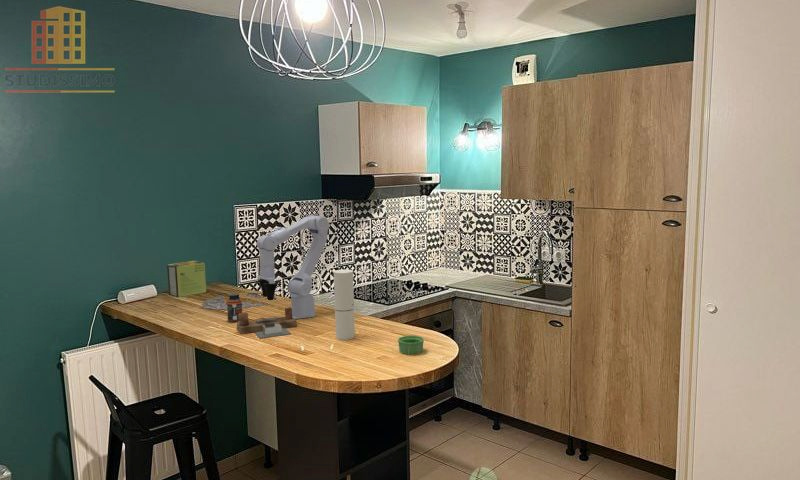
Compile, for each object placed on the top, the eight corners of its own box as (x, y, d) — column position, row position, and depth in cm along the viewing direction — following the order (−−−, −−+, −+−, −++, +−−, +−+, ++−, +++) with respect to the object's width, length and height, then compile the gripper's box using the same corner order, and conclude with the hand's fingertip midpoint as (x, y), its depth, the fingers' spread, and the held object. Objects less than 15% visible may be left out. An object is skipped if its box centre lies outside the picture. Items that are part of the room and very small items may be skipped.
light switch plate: (278, 330, 239) (278, 320, 238) (281, 333, 235) (281, 323, 234) (262, 332, 236) (262, 323, 235) (265, 335, 232) (264, 325, 231)
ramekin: (392, 351, 212) (392, 339, 211) (410, 345, 218) (410, 333, 217) (411, 357, 205) (411, 344, 205) (429, 351, 211) (429, 338, 211)
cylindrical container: (357, 335, 232) (356, 270, 228) (350, 340, 225) (348, 273, 222) (340, 333, 234) (338, 269, 231) (332, 338, 227) (330, 272, 224)
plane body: (291, 322, 252) (290, 305, 251) (296, 326, 245) (296, 309, 244) (237, 329, 243) (236, 312, 242) (241, 334, 236) (240, 316, 235)
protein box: (206, 292, 313) (205, 262, 311) (178, 297, 302) (176, 266, 300) (196, 289, 320) (194, 260, 318) (168, 294, 309) (166, 264, 307)
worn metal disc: (185, 305, 287) (185, 304, 287) (243, 291, 315) (243, 290, 315) (232, 314, 268) (232, 313, 268) (290, 298, 296) (290, 297, 296)
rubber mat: (285, 329, 242) (285, 328, 241) (291, 334, 234) (291, 333, 234) (255, 333, 236) (254, 332, 236) (259, 338, 229) (259, 337, 229)
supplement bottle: (238, 322, 253) (237, 295, 251) (225, 322, 254) (223, 295, 252) (245, 319, 258) (243, 292, 257) (232, 318, 260) (230, 292, 258)
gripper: (253, 263, 253) (254, 295, 255) (261, 268, 240) (262, 302, 242) (270, 262, 256) (271, 294, 258) (279, 267, 243) (280, 300, 245)
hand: (268, 298), depth 250 cm, fingers open, 7 cm apart
